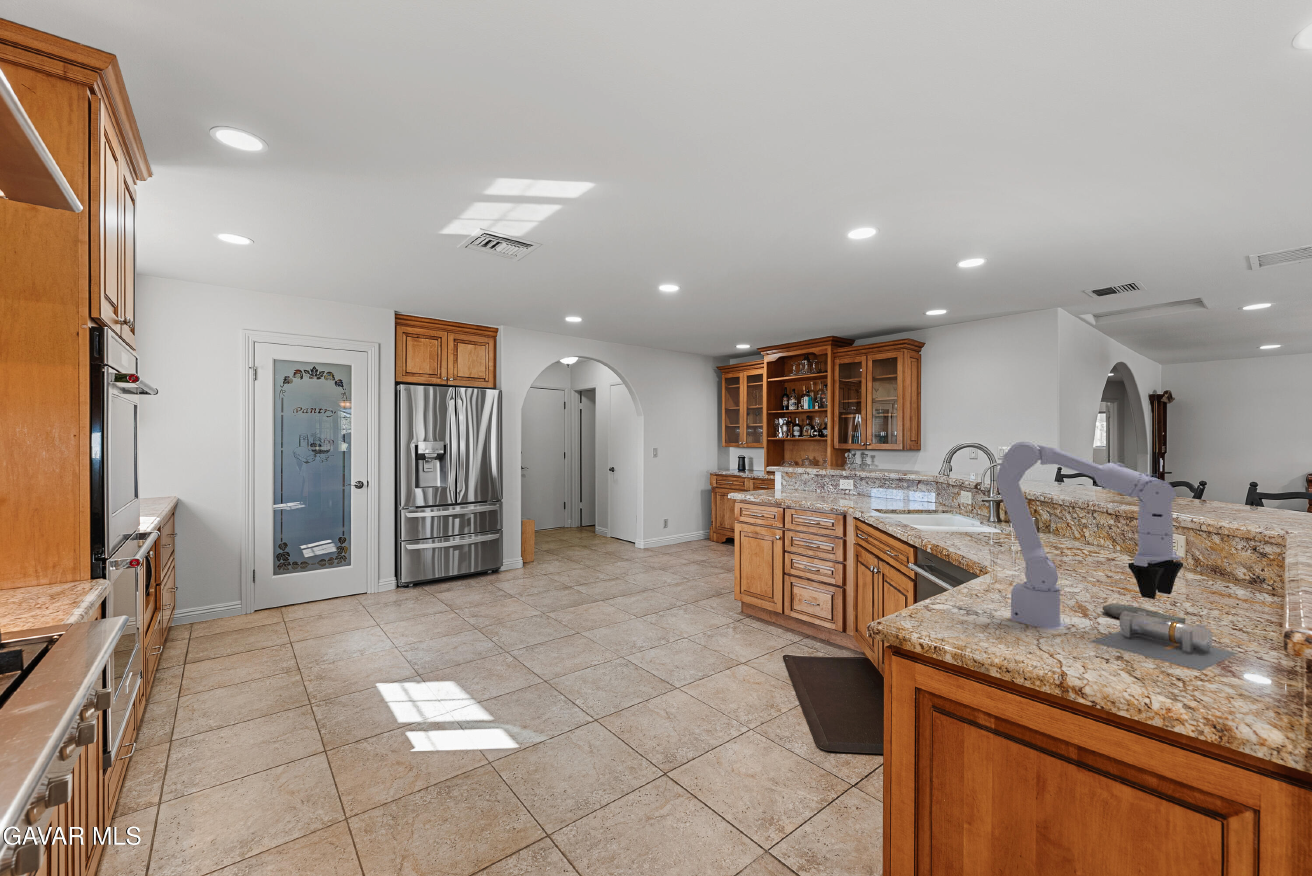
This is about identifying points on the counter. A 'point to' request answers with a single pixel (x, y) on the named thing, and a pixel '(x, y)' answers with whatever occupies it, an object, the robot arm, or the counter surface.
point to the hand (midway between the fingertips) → (1156, 595)
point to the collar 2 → (1189, 640)
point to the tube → (1167, 630)
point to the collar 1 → (1129, 627)
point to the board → (1165, 650)
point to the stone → (1119, 608)
